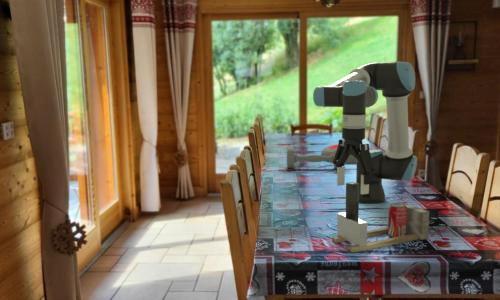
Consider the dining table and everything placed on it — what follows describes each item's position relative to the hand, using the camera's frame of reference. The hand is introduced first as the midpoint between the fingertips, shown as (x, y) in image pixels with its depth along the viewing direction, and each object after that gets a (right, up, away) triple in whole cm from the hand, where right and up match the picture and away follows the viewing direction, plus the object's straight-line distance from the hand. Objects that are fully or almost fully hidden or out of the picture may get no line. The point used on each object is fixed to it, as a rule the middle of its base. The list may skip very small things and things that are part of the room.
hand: (352, 189), depth 157 cm
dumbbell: (+6, +2, +134) cm, 134 cm away
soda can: (+19, -18, +11) cm, 29 cm away
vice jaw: (0, -18, +3) cm, 18 cm away
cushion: (+33, +7, +165) cm, 168 cm away
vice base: (+11, -19, +8) cm, 23 cm away
